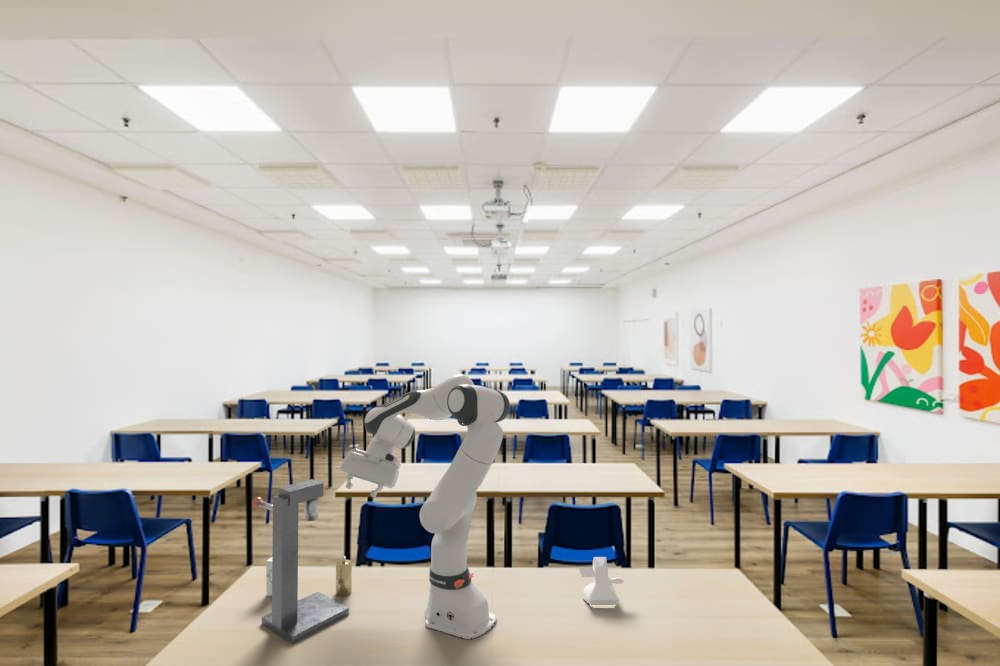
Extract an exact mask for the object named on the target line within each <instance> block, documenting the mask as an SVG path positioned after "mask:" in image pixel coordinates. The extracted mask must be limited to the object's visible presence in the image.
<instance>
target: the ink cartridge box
mask: <svg viewBox="0 0 1000 666" xmlns="http://www.w3.org/2000/svg"><path fill="white" fill-rule="evenodd" d="M265 565H266V567H265V569H266V571H265V573H266V574H265V575H266V577H265V578H266V579H265V580H266V597H272V556H271V557H270V558H268V559H267V560H266V564H265Z"/></svg>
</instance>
